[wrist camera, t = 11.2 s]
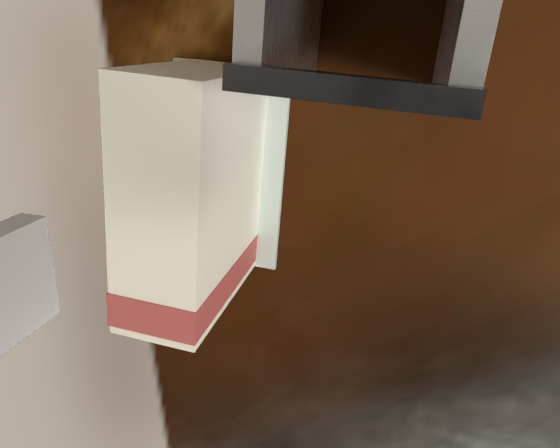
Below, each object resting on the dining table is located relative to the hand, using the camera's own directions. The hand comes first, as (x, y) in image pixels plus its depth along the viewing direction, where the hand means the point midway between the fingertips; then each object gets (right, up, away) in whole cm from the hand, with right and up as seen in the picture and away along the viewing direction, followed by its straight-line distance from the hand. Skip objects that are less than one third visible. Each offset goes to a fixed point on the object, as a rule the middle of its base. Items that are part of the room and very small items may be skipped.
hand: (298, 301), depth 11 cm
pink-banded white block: (-4, +6, +23) cm, 24 cm away
